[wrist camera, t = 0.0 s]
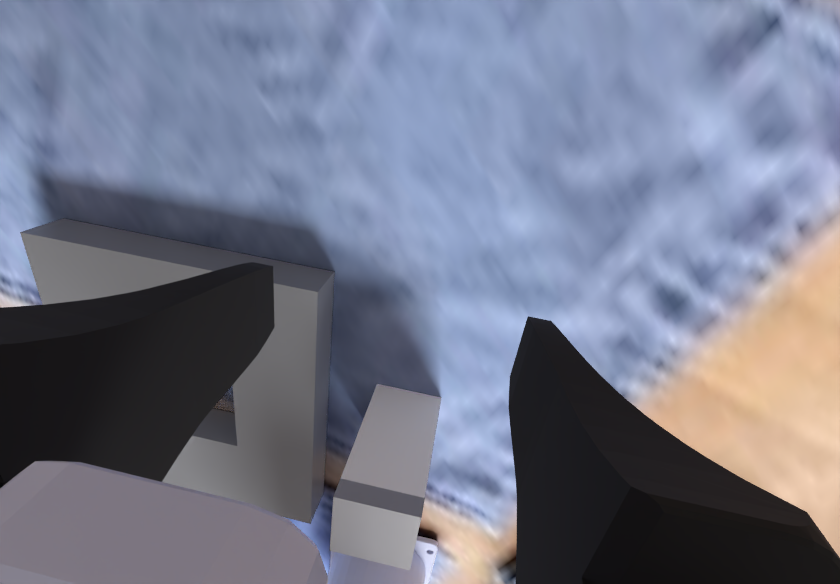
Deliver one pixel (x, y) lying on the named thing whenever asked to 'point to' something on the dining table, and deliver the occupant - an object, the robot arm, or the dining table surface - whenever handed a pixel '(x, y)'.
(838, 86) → the dining table surface
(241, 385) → the socket
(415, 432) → the plug
